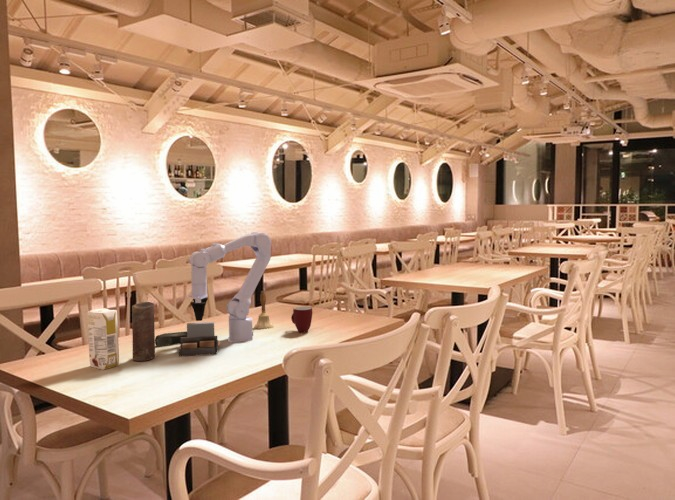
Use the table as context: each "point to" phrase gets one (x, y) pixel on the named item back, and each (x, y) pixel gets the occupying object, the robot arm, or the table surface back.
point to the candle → (143, 331)
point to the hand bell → (263, 315)
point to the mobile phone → (169, 338)
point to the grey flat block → (200, 329)
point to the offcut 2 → (206, 344)
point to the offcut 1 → (189, 345)
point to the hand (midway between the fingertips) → (199, 318)
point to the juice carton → (103, 338)
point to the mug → (302, 318)
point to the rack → (198, 346)
